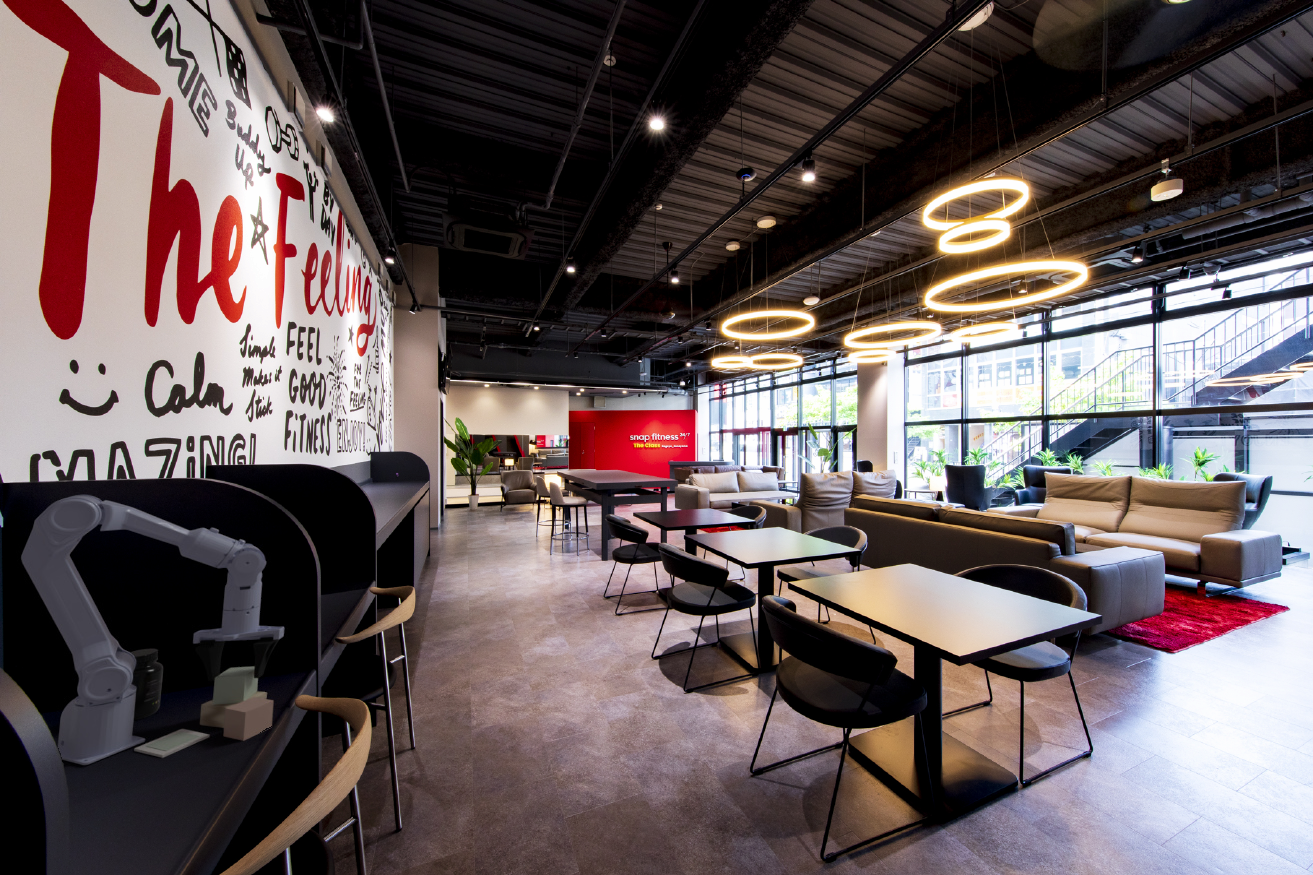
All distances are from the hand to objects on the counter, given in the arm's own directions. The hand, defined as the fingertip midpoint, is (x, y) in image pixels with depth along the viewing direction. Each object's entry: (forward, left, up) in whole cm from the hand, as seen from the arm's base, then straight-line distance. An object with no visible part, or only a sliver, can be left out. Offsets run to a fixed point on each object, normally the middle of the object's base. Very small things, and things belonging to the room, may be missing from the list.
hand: (236, 677), depth 99 cm
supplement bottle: (-19, -5, -8) cm, 21 cm away
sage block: (0, 0, -4) cm, 4 cm away
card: (0, -10, -8) cm, 13 cm away
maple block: (0, 0, -8) cm, 8 cm away
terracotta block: (+8, -3, -8) cm, 12 cm away
